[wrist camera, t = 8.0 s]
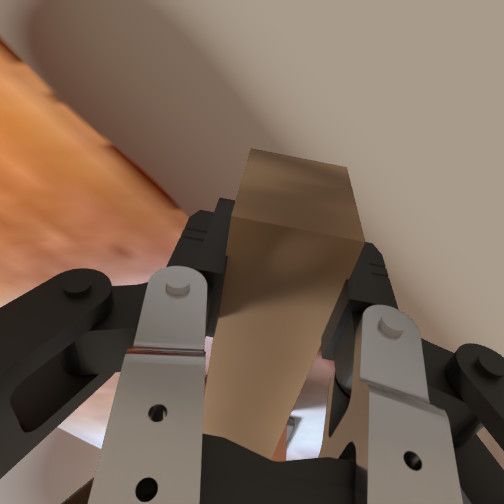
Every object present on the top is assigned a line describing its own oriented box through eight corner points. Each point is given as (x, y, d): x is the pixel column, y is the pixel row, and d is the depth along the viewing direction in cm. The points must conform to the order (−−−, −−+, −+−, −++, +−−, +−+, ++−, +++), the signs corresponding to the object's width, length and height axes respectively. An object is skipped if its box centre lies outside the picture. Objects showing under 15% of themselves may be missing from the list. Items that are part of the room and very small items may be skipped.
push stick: (206, 415, 21) (190, 493, 18) (251, 148, 11) (231, 215, 8) (258, 424, 21) (250, 505, 18) (346, 167, 11) (365, 241, 8)
